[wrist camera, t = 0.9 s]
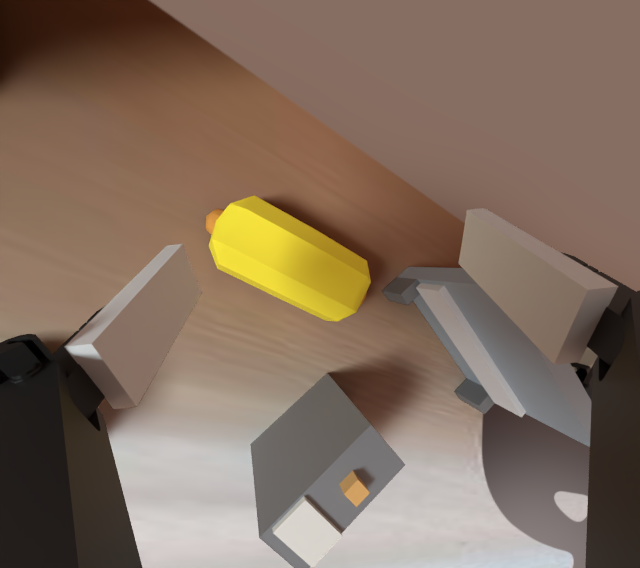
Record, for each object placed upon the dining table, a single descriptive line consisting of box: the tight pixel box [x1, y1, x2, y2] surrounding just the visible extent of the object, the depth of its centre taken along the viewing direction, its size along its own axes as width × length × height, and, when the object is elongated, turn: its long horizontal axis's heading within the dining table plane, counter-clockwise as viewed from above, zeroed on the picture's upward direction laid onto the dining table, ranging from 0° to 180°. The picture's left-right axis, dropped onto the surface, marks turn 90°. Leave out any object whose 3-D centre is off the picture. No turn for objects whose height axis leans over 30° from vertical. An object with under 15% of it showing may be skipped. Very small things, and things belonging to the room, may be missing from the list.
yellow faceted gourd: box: [206, 195, 371, 321], centre depth 28 cm, size 18×7×8 cm
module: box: [251, 373, 405, 568], centre depth 27 cm, size 5×11×12 cm, turn 129°
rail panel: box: [382, 267, 592, 447], centre depth 30 cm, size 19×4×14 cm, turn 39°
